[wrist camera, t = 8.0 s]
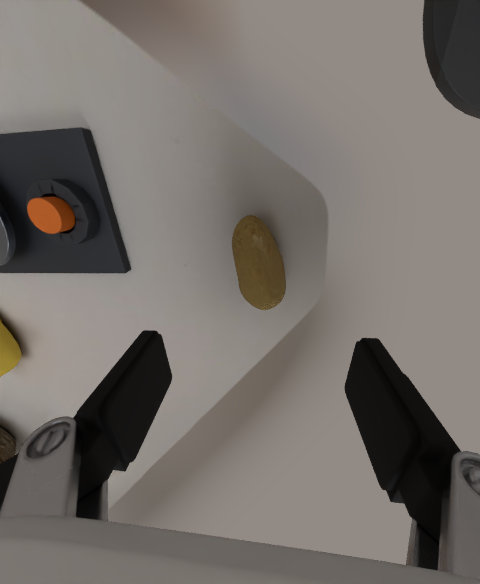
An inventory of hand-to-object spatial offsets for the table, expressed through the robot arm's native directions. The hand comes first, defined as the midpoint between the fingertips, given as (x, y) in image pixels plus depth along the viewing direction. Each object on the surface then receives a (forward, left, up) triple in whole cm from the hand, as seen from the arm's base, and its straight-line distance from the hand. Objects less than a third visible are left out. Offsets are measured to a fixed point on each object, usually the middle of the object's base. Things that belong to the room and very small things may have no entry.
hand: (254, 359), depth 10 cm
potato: (0, 0, -16) cm, 16 cm away
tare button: (-5, -20, -13) cm, 25 cm away
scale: (-5, -26, -16) cm, 31 cm away
